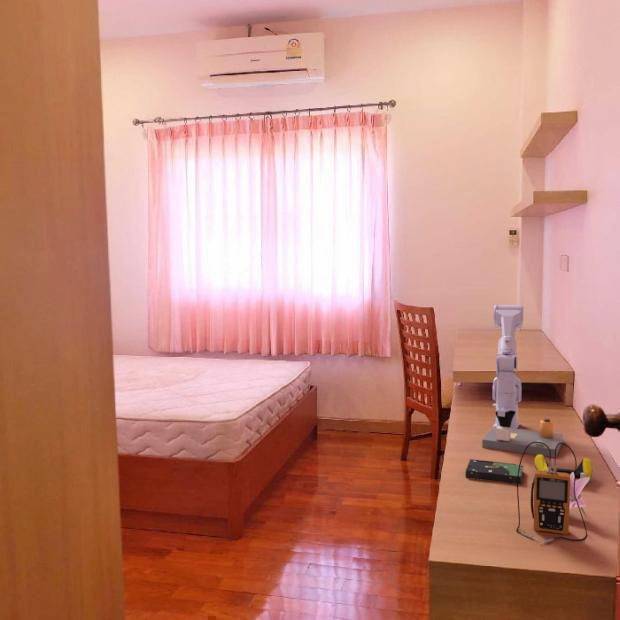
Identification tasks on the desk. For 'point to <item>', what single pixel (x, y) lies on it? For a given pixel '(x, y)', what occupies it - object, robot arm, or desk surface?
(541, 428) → the cap
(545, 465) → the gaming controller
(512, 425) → the robot arm
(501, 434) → the lever
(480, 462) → the disk drive
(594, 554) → the desk surface
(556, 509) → the multimeter
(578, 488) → the lily
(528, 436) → the panel
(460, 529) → the desk surface
